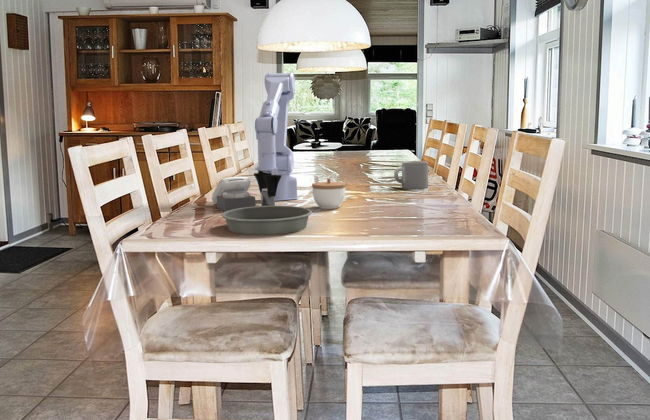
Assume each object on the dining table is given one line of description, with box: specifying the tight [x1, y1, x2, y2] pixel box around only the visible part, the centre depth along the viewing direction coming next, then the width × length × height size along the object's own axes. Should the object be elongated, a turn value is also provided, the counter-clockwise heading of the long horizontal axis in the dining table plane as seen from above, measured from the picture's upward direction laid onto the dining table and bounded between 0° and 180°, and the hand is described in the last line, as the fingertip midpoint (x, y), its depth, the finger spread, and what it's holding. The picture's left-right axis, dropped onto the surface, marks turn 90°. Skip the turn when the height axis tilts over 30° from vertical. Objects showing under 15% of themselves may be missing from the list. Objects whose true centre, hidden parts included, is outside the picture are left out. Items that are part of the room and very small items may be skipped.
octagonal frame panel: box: [216, 190, 256, 212], centre depth 229 cm, size 10×9×5 cm
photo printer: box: [211, 176, 251, 205], centre depth 235 cm, size 10×4×12 cm
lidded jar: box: [311, 177, 347, 210], centre depth 228 cm, size 11×11×9 cm
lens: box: [260, 188, 276, 206], centre depth 233 cm, size 4×4×6 cm
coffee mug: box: [393, 160, 429, 190], centre depth 275 cm, size 13×10×10 cm
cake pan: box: [221, 205, 313, 235], centre depth 195 cm, size 25×25×4 cm
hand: (267, 195), depth 233 cm, fingers open, 7 cm apart
